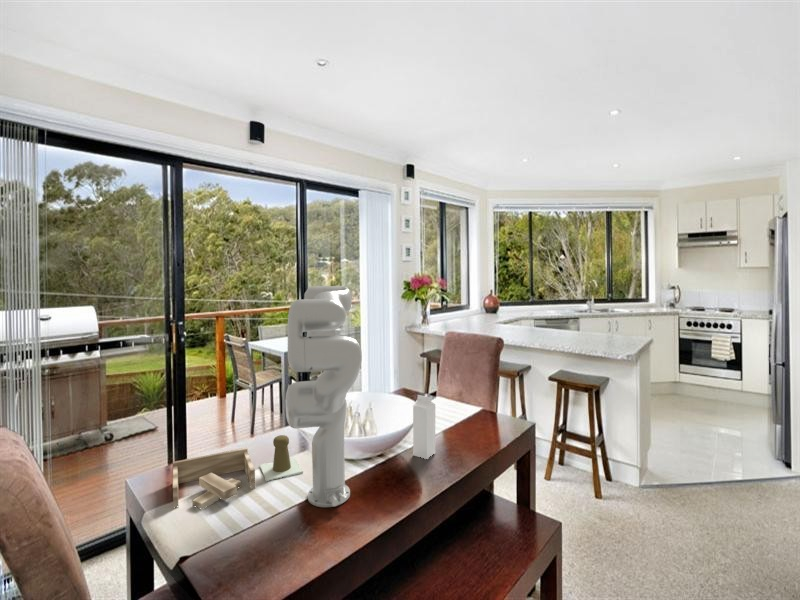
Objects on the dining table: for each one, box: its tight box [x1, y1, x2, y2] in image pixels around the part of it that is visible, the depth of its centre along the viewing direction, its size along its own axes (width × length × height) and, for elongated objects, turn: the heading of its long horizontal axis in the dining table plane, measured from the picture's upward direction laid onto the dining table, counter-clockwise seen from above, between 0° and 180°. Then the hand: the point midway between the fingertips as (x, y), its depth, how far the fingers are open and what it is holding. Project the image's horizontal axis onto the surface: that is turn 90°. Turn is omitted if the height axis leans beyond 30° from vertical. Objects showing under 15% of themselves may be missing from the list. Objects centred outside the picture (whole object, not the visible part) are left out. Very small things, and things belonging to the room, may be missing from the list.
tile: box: [259, 456, 304, 482], centre depth 140 cm, size 12×12×1 cm
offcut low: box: [192, 478, 242, 510], centre depth 124 cm, size 4×14×2 cm, turn 154°
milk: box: [412, 394, 436, 460], centre depth 151 cm, size 6×6×22 cm
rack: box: [172, 446, 256, 508], centre depth 130 cm, size 16×22×7 cm
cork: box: [272, 434, 291, 472], centre depth 140 cm, size 6×6×11 cm
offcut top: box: [198, 473, 238, 501], centre depth 124 cm, size 4×14×2 cm, turn 53°
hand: (322, 371), depth 141 cm, fingers open, 9 cm apart
